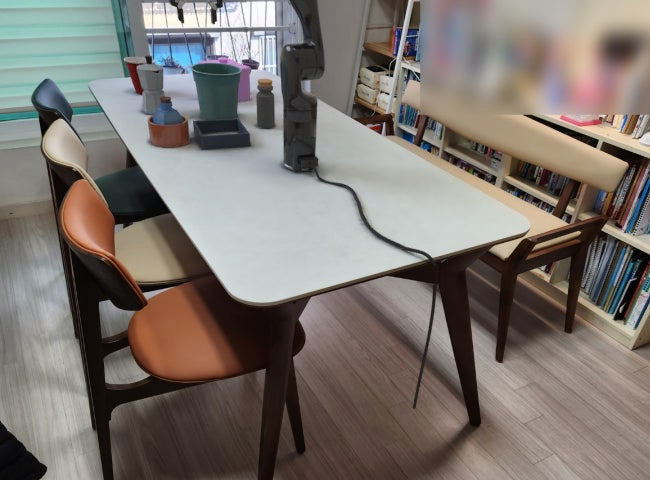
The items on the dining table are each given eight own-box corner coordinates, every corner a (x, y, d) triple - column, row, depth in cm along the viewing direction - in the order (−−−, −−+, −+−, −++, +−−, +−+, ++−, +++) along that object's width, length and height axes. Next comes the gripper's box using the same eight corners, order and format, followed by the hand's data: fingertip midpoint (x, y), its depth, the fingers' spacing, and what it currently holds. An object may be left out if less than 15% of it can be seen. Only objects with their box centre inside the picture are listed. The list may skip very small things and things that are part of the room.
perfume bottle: (173, 133, 163) (168, 93, 156) (185, 138, 160) (180, 98, 153) (155, 137, 159) (149, 97, 152) (167, 143, 156) (161, 102, 149)
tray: (250, 146, 162) (249, 133, 160) (202, 149, 156) (201, 136, 154) (239, 130, 173) (238, 118, 170) (193, 133, 167) (192, 120, 165)
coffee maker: (176, 114, 180) (170, 59, 170) (151, 118, 174) (143, 61, 164) (157, 102, 188) (150, 49, 178) (133, 106, 183) (124, 51, 173)
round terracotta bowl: (192, 145, 158) (190, 124, 154) (153, 148, 154) (149, 126, 150) (186, 133, 166) (184, 112, 163) (148, 135, 162) (145, 114, 158)
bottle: (276, 124, 181) (276, 79, 172) (272, 129, 176) (271, 83, 168) (260, 122, 181) (258, 77, 173) (255, 127, 176) (253, 81, 168)
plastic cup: (166, 93, 199) (162, 59, 192) (142, 98, 191) (136, 63, 184) (147, 86, 203) (142, 53, 196) (122, 91, 195) (116, 57, 189)
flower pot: (234, 107, 192) (231, 61, 183) (251, 121, 181) (249, 73, 172) (188, 111, 184) (183, 63, 175) (203, 126, 173) (199, 75, 164)
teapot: (182, 95, 199) (178, 55, 191) (242, 88, 213) (240, 51, 205) (201, 106, 189) (197, 65, 182) (261, 98, 204) (260, 60, 196)
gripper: (166, -43, 136) (174, 25, 145) (222, -40, 142) (226, 26, 151) (162, -46, 141) (170, 20, 150) (216, -42, 147) (220, 21, 156)
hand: (198, 23), depth 150 cm, fingers open, 8 cm apart
